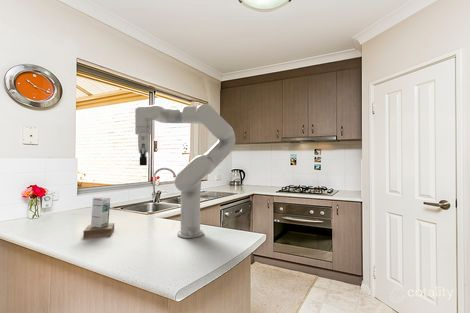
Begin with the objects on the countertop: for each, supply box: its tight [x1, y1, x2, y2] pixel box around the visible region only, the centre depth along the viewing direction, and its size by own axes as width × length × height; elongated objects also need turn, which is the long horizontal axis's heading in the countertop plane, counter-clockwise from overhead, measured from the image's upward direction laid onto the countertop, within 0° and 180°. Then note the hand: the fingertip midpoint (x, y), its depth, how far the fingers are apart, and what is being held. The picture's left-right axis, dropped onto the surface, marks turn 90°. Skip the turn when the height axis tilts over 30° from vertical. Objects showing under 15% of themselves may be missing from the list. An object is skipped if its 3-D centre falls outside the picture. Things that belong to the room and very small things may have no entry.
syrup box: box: [90, 196, 111, 228], centre depth 131 cm, size 6×6×14 cm
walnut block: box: [82, 222, 115, 239], centre depth 130 cm, size 12×12×4 cm
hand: (143, 165), depth 130 cm, fingers open, 9 cm apart
